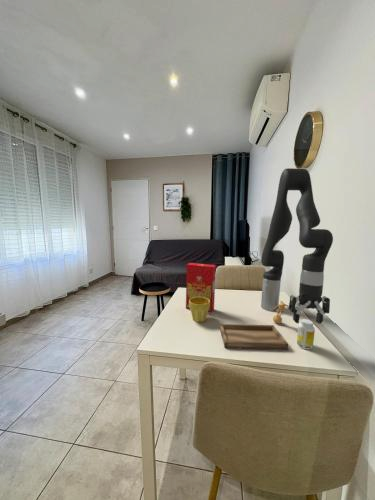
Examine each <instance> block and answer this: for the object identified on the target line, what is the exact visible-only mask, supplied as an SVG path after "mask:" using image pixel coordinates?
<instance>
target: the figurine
mask: <svg viewBox="0 0 375 500" xmlns="http://www.w3.org/2000/svg"><path fill="white" fill-rule="evenodd" d="M276 307H278V310H276V313H277V314H275V315H273V317H272V320H273V323H275V324H281V323H282V322H283V317H281V316H282V314H283V311H284V310H285V308H286V309H287V310H289V304H288V305H287V304H285V303H284V301H282V300H279V305H277V306H276ZM276 307H275V308H276ZM275 308H273V309H275ZM273 309H272V310H273Z"/></svg>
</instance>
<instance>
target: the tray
mask: <svg viewBox="0 0 375 500" xmlns="http://www.w3.org/2000/svg"><path fill="white" fill-rule="evenodd" d="M219 331H220V335H221V339H222V343H223V346H224V349H238V350H239V349H240V350H277V351H279V350H280V351H281V350H282V351H288V350H289V343H288V342H287V340H286V339H285V337H284V336H283V335H282V334H281V333H280V332H279V330H278V329H277V328H276V327H275V325H273V324H272V325H271V324H243V323H242V324H239V323H238V324H236V323H234V324H233V323H219Z"/></svg>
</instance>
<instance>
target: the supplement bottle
mask: <svg viewBox="0 0 375 500" xmlns="http://www.w3.org/2000/svg"><path fill="white" fill-rule="evenodd" d="M315 331H316V330H315V327H314V322H313V321H312V320H309V319H304V318H303V319H301V321H300V323H298V327H297V338H296V344H297V345H298V347H299V348H301V349H304V350H312V349H313V348H314V340H315Z"/></svg>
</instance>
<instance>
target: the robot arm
mask: <svg viewBox="0 0 375 500" xmlns="http://www.w3.org/2000/svg"><path fill="white" fill-rule="evenodd" d="M289 191H299V192H300V198H299V200H298V202H297V204H296V207H295V213H296V218H297V221H298V224H299V232H298V233H299V235H298V240H299V244H300V245H301V246H302V247H303V248H305V249H314V251H313V252H312V253H307V254H304V255H303V257H302V262H301V263H302V264H301V272H300V276H299V278H300V279H299V289H298V292H299V293H298V294H299V295H298V296H294V295H290V297H289V303H288V306H289V309H288V311H290V312H291V313H293V314H292V315H293V317H292V321H294V322H295V323H296V324H300V313H301V312H302V311H304V310H305V309H307V310H308V309H311V310H312V309H315V310H316V311H317V312H316V316H315V317H316V318H315V322H316V323H317V324H319V325H321V324H322V323H323V322H324V315H325V314H329V313H330V309H331V299H330V298H329V297H327V296H325V295H323V290H324V279H325V275H324V274H325V273H324V272H325V271H324V270H325V263H326V259H327V257H328V255H329V252H330V250H331V247H332V245H333V242H334V236H333V233H332V232H331V230H328V229H326V228H325V229H322V228H316V227H318V226H319V225H320V223H321V217H320V215H319V212H318V210H317V207H316V204H315V200H314V194H313V187H312V179H311V175H310V172H309V170H308V169H306V168H289V167H288V168H285V169H283V170H282V172H281V174H280V178H279V182H278V189H277V194H276V195H277V196H276V200H275V205H274V209H273V213H272V215H271V220H270V224H269V229H268V232H267V233H268V234H267V237H266V238H267V239H266V241H265V244H264V247H263V249H262V253H261V257H260V258H261V259H260V261H261V264H262V266H264V267H266V268H267V267H269V268H271V269H270V270H268V271H267V270H266V271H264V272H263V275H262V288H261V302H260V308H261V309H263V310H265V311H269V312H275V311H276V312H277V310H278V308H279V307H276V306H277V305H279V304H280V296H281V294H280V293H281V292H280V291H281V280H282V275H283V268H284V264H285V263H284V262H285V254H284V252H283V251H282V250H278V249H277V250H276V249H274V248H275V247H276V245H277V244H278V243H279V242H280V241H281V240H283V238H284V237H286V236H287V234H288V233H289V231H290V229H291V225H292V221H293V214H292V211H291V209H290V207H289V205H288V193H289ZM321 304H322V305H321ZM321 306H322V307H321ZM275 307H276V308H275ZM273 308H275V309H273ZM272 309H273V310H272Z"/></svg>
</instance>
